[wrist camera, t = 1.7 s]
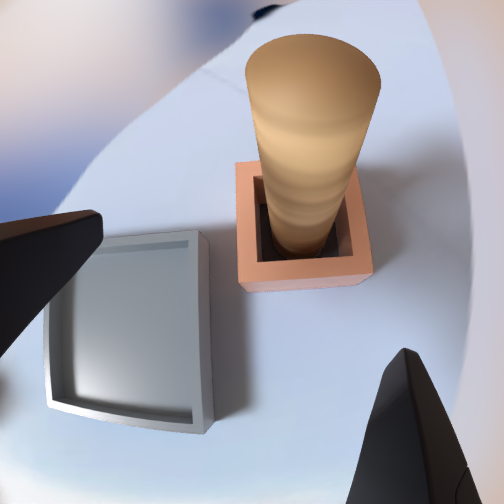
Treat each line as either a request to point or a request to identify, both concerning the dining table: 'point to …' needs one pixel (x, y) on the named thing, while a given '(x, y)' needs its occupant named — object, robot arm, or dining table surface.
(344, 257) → the terracotta socket
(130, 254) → the tray
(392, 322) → the dining table surface
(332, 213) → the oak dowel
